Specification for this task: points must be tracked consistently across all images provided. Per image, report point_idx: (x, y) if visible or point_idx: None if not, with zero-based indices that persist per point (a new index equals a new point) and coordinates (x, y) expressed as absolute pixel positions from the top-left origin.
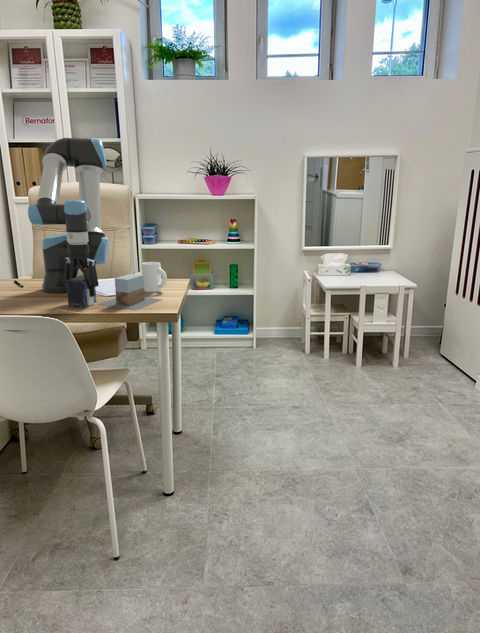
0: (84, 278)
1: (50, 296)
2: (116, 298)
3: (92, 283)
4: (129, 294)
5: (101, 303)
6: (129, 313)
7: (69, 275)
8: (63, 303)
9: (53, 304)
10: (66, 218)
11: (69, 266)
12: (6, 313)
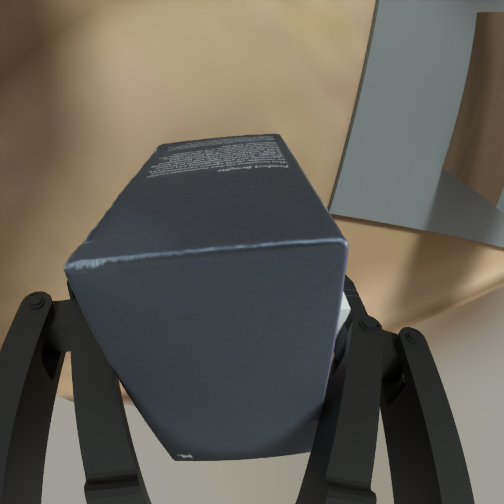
0: (277, 401)
1: None
2: (466, 184)
3: (390, 393)
4: None
5: (349, 182)
6: (501, 281)
7: (40, 384)
8: (85, 238)
9: (62, 272)
10: None
11: (22, 490)
12: (58, 394)
